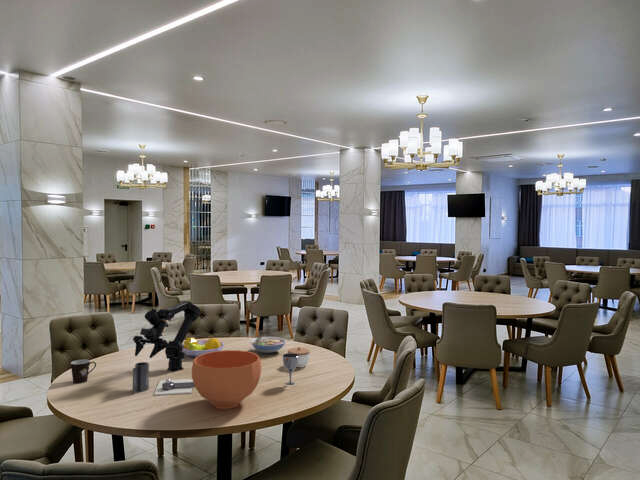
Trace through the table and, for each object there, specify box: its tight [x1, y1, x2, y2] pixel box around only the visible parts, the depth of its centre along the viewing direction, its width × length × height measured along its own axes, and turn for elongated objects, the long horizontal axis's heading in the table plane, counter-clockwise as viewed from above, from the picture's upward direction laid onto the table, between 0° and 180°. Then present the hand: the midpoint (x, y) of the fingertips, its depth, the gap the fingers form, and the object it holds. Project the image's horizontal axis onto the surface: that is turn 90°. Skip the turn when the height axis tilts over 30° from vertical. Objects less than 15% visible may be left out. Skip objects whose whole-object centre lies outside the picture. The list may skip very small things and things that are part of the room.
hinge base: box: [153, 377, 195, 396], centre depth 225 cm, size 20×18×6 cm
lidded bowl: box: [287, 346, 311, 368], centre depth 263 cm, size 13×13×11 cm
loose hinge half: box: [132, 361, 150, 395], centre depth 219 cm, size 10×6×12 cm, turn 170°
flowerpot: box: [191, 349, 262, 410], centre depth 204 cm, size 30×30×20 cm
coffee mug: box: [70, 359, 97, 384], centre depth 233 cm, size 12×9×10 cm
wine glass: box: [282, 352, 298, 385], centre depth 231 cm, size 8×8×15 cm
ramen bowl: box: [250, 334, 287, 354], centre depth 293 cm, size 25×23×8 cm
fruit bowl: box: [182, 336, 225, 358], centre depth 285 cm, size 28×27×11 cm
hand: (142, 356), depth 229 cm, fingers open, 9 cm apart
